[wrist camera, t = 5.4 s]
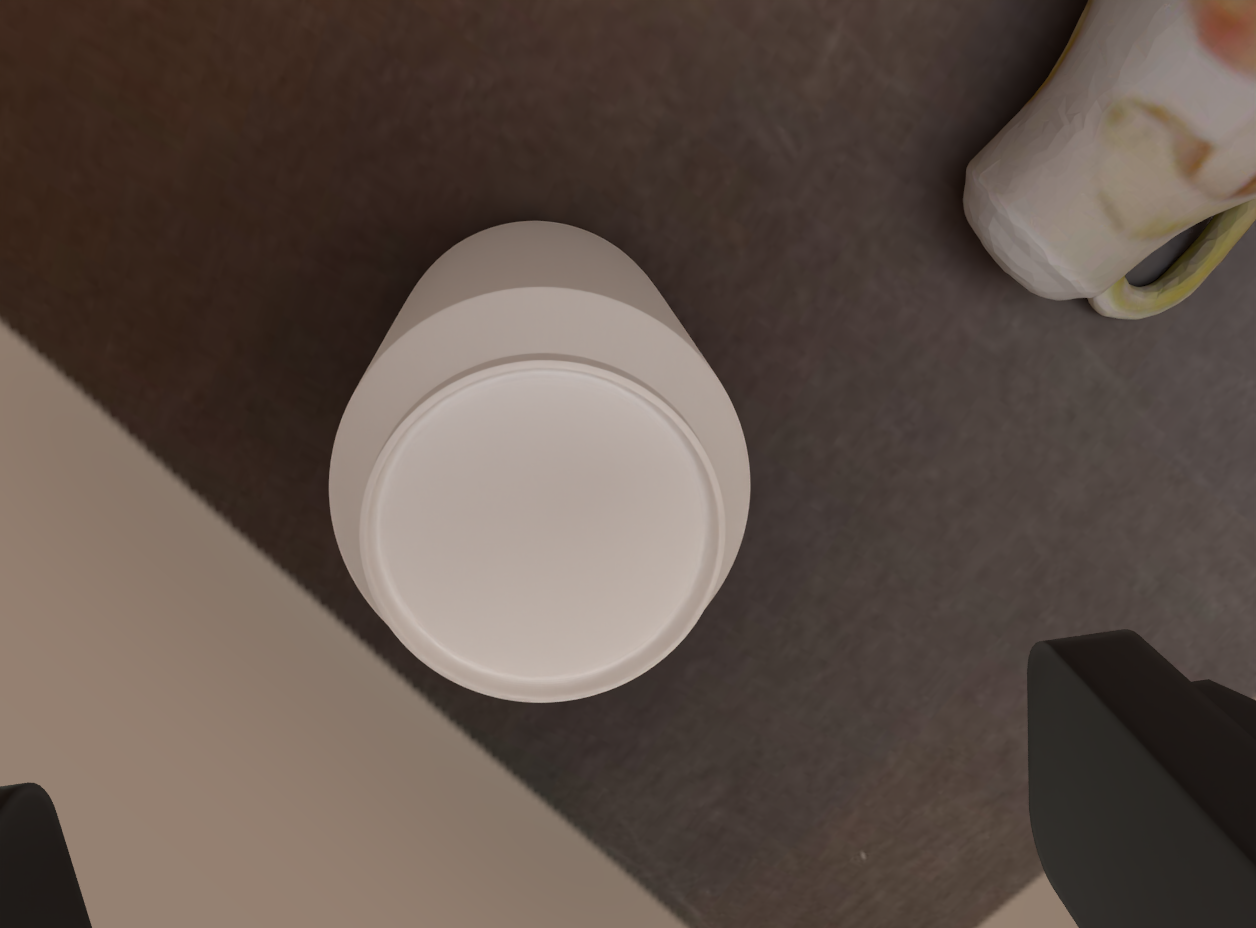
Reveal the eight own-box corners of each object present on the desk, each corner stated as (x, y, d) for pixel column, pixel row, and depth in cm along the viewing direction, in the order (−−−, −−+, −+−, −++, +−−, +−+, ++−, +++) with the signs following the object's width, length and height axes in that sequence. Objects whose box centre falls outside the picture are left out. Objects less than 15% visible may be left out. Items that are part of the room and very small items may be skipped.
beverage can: (722, 311, 27) (865, 469, 16) (577, 527, 29) (612, 816, 17) (490, 159, 26) (464, 212, 14) (348, 393, 27) (221, 612, 16)
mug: (836, 191, 27) (1111, -96, 17) (1073, -43, 30) (1418, -396, 20) (1066, 426, 27) (1463, 268, 18) (1279, 170, 30) (1715, -82, 21)
